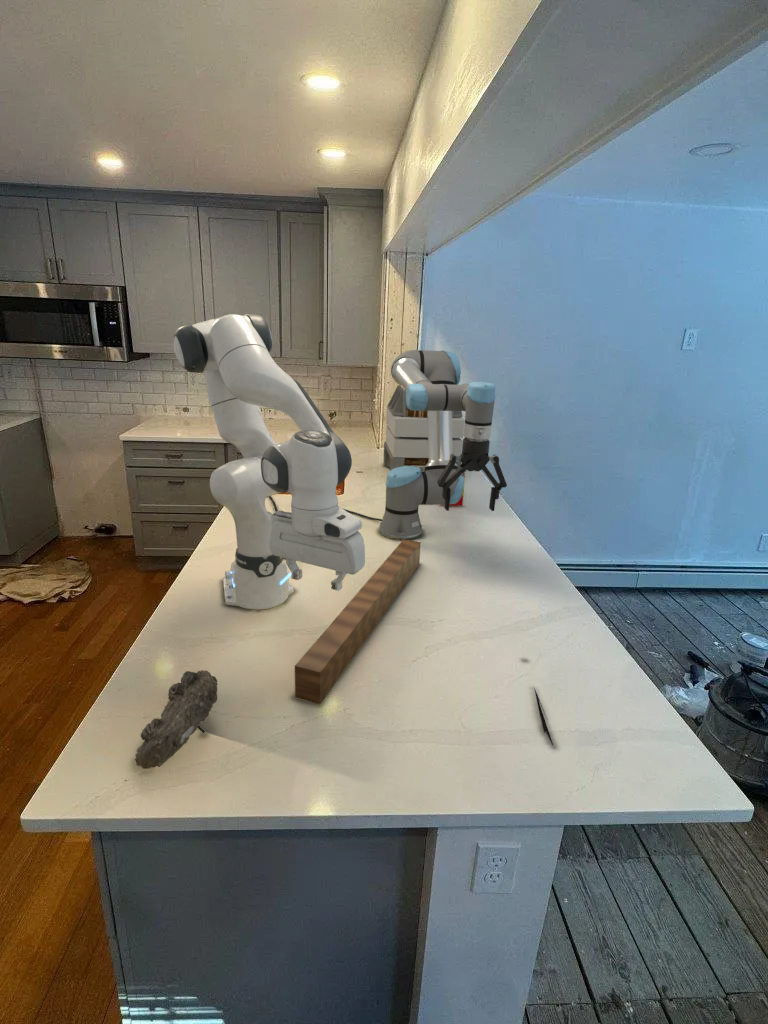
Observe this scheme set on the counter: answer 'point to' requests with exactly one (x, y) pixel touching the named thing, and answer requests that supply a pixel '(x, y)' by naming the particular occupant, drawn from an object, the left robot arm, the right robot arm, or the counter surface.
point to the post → (354, 625)
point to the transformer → (412, 433)
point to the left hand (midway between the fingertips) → (316, 583)
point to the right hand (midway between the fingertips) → (469, 509)
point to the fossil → (178, 718)
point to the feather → (542, 717)
